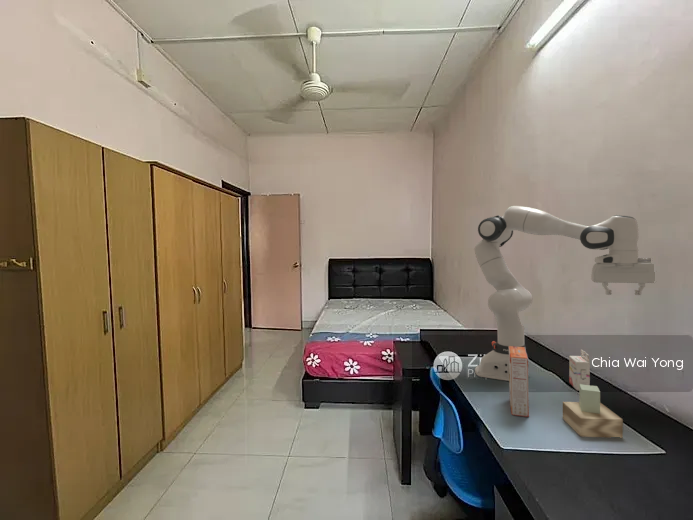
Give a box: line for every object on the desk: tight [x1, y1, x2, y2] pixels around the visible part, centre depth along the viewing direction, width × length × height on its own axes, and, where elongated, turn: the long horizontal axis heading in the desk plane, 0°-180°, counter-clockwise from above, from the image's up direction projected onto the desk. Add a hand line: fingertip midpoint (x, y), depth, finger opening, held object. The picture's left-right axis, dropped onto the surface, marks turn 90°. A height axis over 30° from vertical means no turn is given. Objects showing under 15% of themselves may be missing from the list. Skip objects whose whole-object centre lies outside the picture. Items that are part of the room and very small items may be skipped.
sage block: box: [578, 384, 601, 414], centre depth 121 cm, size 5×5×7 cm
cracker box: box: [508, 346, 530, 418], centre depth 135 cm, size 14×6×21 cm, turn 159°
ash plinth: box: [562, 401, 624, 439], centre depth 120 cm, size 12×12×6 cm
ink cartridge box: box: [568, 349, 591, 391], centre depth 153 cm, size 9×5×15 cm, turn 168°
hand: (623, 294), depth 142 cm, fingers open, 8 cm apart
